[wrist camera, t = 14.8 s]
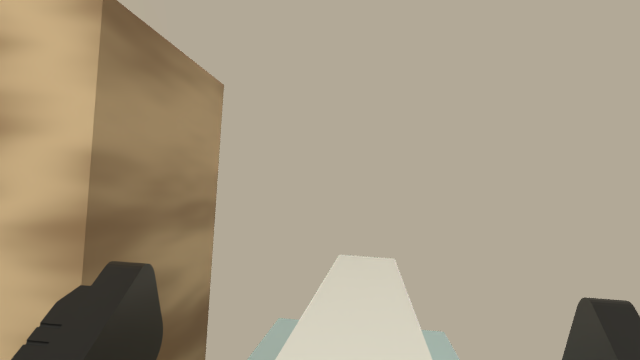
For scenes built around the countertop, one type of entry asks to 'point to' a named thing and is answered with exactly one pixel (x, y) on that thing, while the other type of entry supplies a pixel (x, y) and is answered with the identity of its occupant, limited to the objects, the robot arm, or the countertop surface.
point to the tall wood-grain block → (103, 164)
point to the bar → (358, 316)
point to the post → (281, 330)
